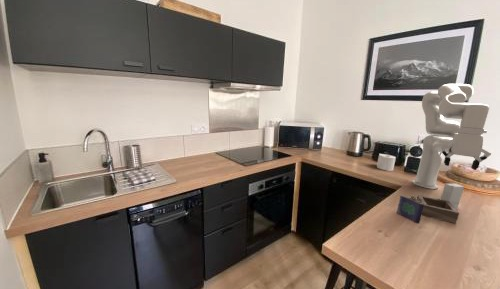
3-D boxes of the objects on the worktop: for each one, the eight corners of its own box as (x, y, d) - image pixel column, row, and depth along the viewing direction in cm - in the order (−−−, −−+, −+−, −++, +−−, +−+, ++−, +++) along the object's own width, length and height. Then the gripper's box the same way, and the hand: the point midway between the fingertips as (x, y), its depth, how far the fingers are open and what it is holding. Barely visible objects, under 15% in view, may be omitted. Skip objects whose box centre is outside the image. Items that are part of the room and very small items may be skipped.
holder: (415, 203, 106) (417, 194, 105) (446, 210, 100) (448, 201, 99) (421, 215, 95) (423, 205, 94) (455, 223, 90) (459, 213, 89)
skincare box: (448, 205, 106) (455, 182, 104) (458, 209, 102) (465, 186, 99) (437, 205, 106) (444, 182, 103) (446, 209, 101) (453, 186, 99)
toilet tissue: (389, 172, 152) (392, 158, 150) (372, 167, 162) (374, 154, 159) (395, 169, 158) (398, 156, 156) (378, 164, 168) (380, 152, 165)
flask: (395, 212, 96) (400, 191, 94) (399, 211, 97) (404, 190, 95) (417, 224, 88) (423, 201, 86) (421, 222, 89) (427, 200, 87)
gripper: (492, 132, 95) (480, 168, 98) (442, 128, 102) (434, 161, 106) (501, 134, 88) (489, 173, 92) (448, 130, 96) (438, 165, 99)
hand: (459, 167), depth 99 cm, fingers open, 9 cm apart
